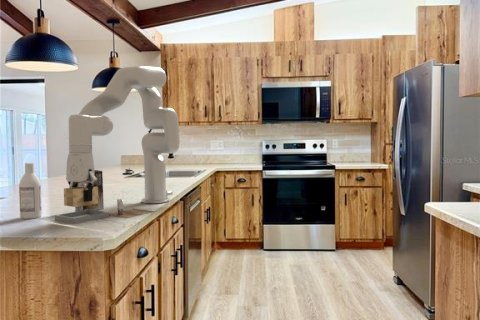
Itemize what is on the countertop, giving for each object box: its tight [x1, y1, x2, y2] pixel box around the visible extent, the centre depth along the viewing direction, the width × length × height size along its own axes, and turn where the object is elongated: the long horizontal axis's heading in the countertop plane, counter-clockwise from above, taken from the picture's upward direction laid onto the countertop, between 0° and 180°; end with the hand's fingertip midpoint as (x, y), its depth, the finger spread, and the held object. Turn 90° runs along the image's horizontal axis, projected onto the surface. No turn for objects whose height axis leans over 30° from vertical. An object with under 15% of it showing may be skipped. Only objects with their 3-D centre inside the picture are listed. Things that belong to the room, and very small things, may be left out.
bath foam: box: [18, 162, 42, 220], centre depth 140 cm, size 7×7×20 cm
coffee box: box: [74, 169, 105, 212], centre depth 152 cm, size 9×6×16 cm
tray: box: [54, 209, 110, 224], centre depth 136 cm, size 14×12×2 cm
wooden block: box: [63, 186, 98, 208], centre depth 135 cm, size 9×6×6 cm
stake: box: [116, 198, 124, 215], centre depth 142 cm, size 2×2×6 cm
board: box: [109, 208, 157, 219], centre depth 145 cm, size 15×12×1 cm
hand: (81, 200), depth 136 cm, fingers closed on wooden block, 6 cm apart
